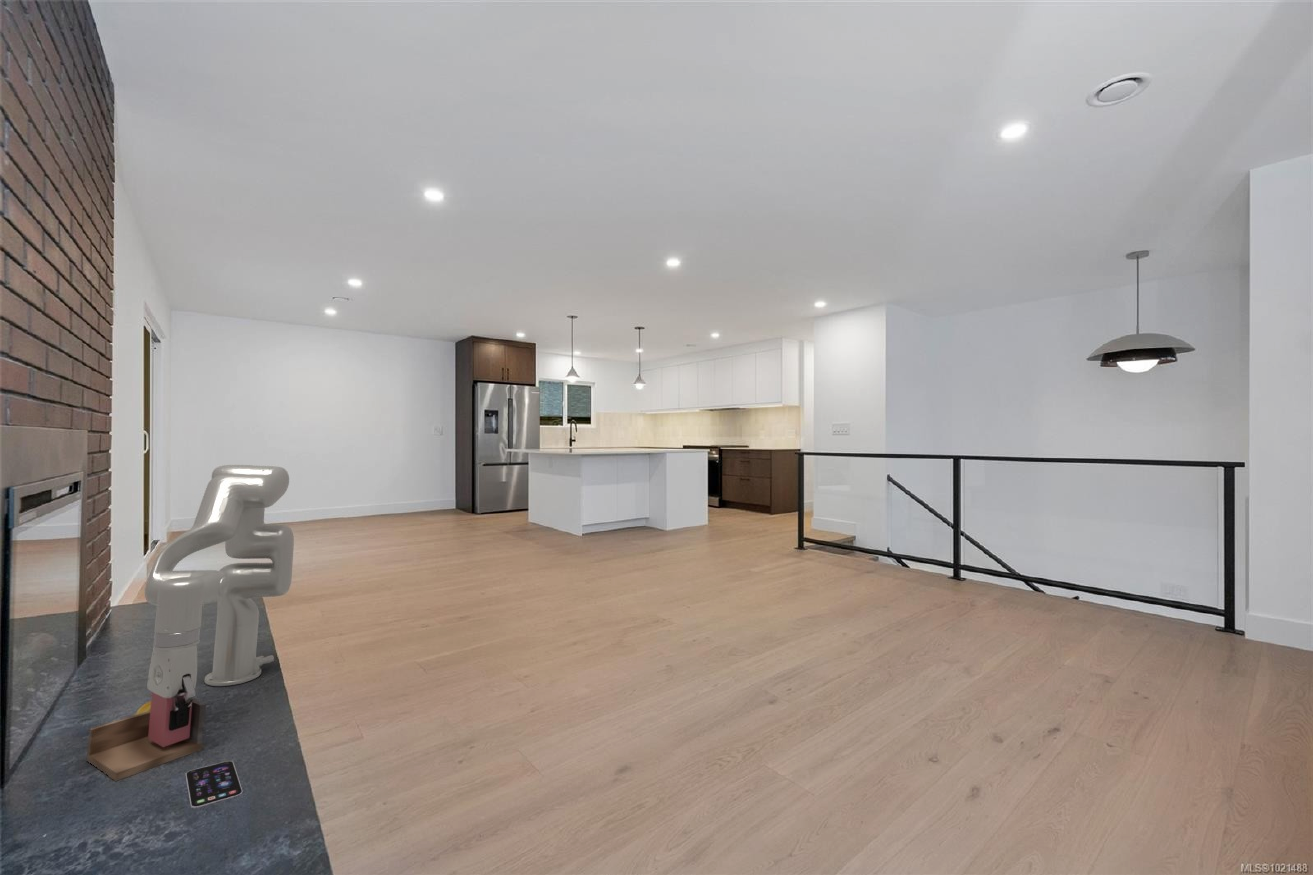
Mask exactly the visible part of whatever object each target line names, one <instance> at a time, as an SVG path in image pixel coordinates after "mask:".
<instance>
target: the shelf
mask: <svg viewBox="0 0 1313 875" xmlns="http://www.w3.org/2000/svg"><path fill="white" fill-rule="evenodd" d="M206 709H207V703H205V702H203V701H200V700H199V699H196V698H195V697H194V698H193V700H192V712H191V725H190V737H189V738H188V739H185V740H182V741H179V742H176V743H174V744H171V745H168V746H165V747H162V746H160V745H158V744H157V743H155V742H153V741H151V740H150V739H148V733H149V721H150V711H148V712H144V713H141V714H137V715H135V714H134V715H131V716H128V717H125V718H120V719H117V720H114V721H111V722H108V723H104V724H100V725H97V726H93V727H90V728H89V733H88V734H89V736H88V743H87V744H88V746H87V755H86V762H87V761H88V762H89V763H88V762H87V763H88V764H90V763H91V764H93V765H95V767H97V768H98V769H100V770H101V771H103V772H104V773H103V772H102V773H103V774H104V775H106V774H107V775H108V776H107V775H106V776H107V777H109V778H110V779H112V780H113V781H115V782H118V781H120V780H123V779H126V778H128V777H131V776H134V775H136V774H140V773H142V772H145V771H147V770H150V769H153V768H155V767H158V766H160V765H164V764H166V763H169V762H172V761H175V760H176V759H180V758H182V757H185V756H188V755H190V754H194V753H196V752H199V751H201V750H203V743H204V731H205V720H206ZM91 764H90V765H91ZM95 767H94V768H95ZM97 768H96V769H97ZM98 769H97V770H98ZM100 770H99V771H100ZM101 771H100V772H101Z"/></svg>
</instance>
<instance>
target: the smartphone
mask: <svg viewBox="0 0 1313 875" xmlns="http://www.w3.org/2000/svg"><path fill="white" fill-rule="evenodd" d="M185 780H186V781H185V782H186V787H187V793H188V799H189V804H190V809H199V808H202V807H206V806H210V805H213V804H216V803H218V802H223V801H225V800H228V799H232V798H235V797H239V796H241V795H242V793H243V788H242V786H241V782H240V778H239V775H238V772H237V770H236V766H235V763H234V761H233V760H227V761H221V762H219V763H218V762H217V763H214V764H210V765H207V766H202V767H198V768H194V769H191V770H189V771H187V772H185Z"/></svg>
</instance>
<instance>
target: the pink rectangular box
mask: <svg viewBox="0 0 1313 875" xmlns="http://www.w3.org/2000/svg"><path fill="white" fill-rule="evenodd" d="M183 692H184V691H183V690H181V691H178V693H177V694H180V693H183ZM150 698H151V699H150V701H151V709H150V721H149V733H148V739H150V740H151V741H153V742H155V743H157V744H158V745H160V746H162V747H165V746H168V745H171V744H174V743H176V742H179V741H182V740H185V739H188V738H189V737H190V725H191V712H192V702H191V707H190V713H189V724H188V725H187V726H184V727H181V728H178V729H175V730H172V731H171V730H169V720H170V711H172V710H173V707H172V699H173V697H172V698H170V699H166V698H163V697H161V696H159V695H157V694H155V693H153V692H151V697H150ZM177 698H178V703H179V701H180V700H181V699H183V698H184V696H181V697H177Z"/></svg>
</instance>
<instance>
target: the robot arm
mask: <svg viewBox="0 0 1313 875" xmlns="http://www.w3.org/2000/svg"><path fill="white" fill-rule="evenodd" d="M288 472H289V471H287V470H286V468H284V467H281V466H272V465H251V464H249V465H248V464H226V465H225V464H224V465H220V466H217V467H215V468H214V469H213V471H212V472H211V479H210V481H209V482H208V483H207V485H206V488H205V490H204V493H203V496H202V500H201V502H200V505H199V508H198V510H197V514H196V516H195V518H194V522H193V525H192V526H191V528H190V529H188V530H187V531H185V532H184V533H182V534H180V535H178V536H177V537H175V539H173V540H172V541H170V542H169V543H168V544H167V545H166V546H164V548H163V549H162V550H161V551H160V552H159V553H158V555H157V556H156V558H155V560H154V562H153V565H152V567H151V570H150V572H149V575H148V578H147V581H146V583H145V588H144V598H145V600H146V601H147V603H148V604H150V605H153V606H156V608H155V609H156V611H155V620H154V631H153V632H154V634H153V635H154V636H153V646H152V648H153V650H152V653H151V658H150V663H149V668H148V669H149V670H148V676H147V684H146V688H147V690H149V692H151V693H152V692H153V693H155V694H157V695H159V696H161V697H163V698H166V699H170V698H172V697H173V699H172V707H173V710H172V711H170V720H169V730H171V731H172V730H175V729H178V728H181V727H184V726H187V725H188V724H189V713H190V707H191V702H192V700H193V698H194V699H195V697H196V695H197V693H196V690H195V689H196V687H197V686H196V685H197V679H198V678H197V677H198V646H197V645H198V644H199V643H200V638H201V628H202V626H201V625H202V615H203V607H205V606H209V605H211V604H215V603H217V607H216V608H217V612H216V625H215V626H216V627H215V637H214V648H213V649H214V650H213V660H212V661H213V662H212V669H211V670H212V671H211V672H210V673H207V675H205V676H204V683H205V684H206V685H208V686H212V687H226V686H234V685H240V684H244V683H247V682H251V681H253V680H255V679H256V678H258V677H259V676H260V675H261V674H262V668H261V667H262V666H263V665H265V664H270V663H272V662H274V661H275V657H274V655H273V654H271V655H267V656H264V655H259V656H256V655H257V647H258V646H257V645H258V635H259V634H258V632H259V623H260V622H259V620H260V611H259V608H258V605H256V604H257V603H255V602H254V601H253V599H254V598H275V597H281V596H284V595H286V594H287V593H288V592H289V590H290V588H291V584H292V577H293V562H294V548H295V547H294V545H295V543H294V542H295V540H294V539H295V538H294V532H293V530H292V528H290V527H289V526H288V525H285V524H265V509H266V508H267V509H268V508H270V507H271V506H272V507H273V505H274V504H276V503H277V501H279V500H280V499H281V498H282V497H283V496H284V495H285V493H286V492H287V490H288V488H289V485H290V476H289V473H288ZM221 543H222V544H223V543H224V545H225V546H224V548H225V554H226V556H228V557H229V558H232V559H242V560H251V559H252V560H253V559H261V560H262V559H263V560H264V559H268V560H270V561H271V562H237V563H230V564H227V565H225V566H223V567H222V568H220V569H219V570H213V569H209V570H208V569H204V570H202V569H201V570H199V569H198V570H196V569H195V570H194V569H192V570H190V569H189V570H174V569H175V567H176V566H177V565H178V564H179V563H180V562H181V561H182V560H184V559H185V558H186V557H188V556H191V555H192V554H194V553H196V552H199V551H201V550H204V549H207V548H210V547H213V546H216V545H219V544H221ZM181 690H183V691H184V692H183V693H180V694H177V693H178V691H181ZM181 696H184V698H183V699H181V700H180V701H179V703H178V698H177V697H181Z"/></svg>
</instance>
